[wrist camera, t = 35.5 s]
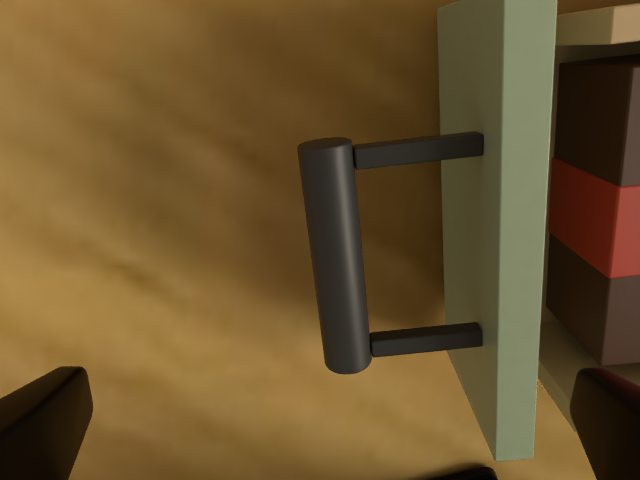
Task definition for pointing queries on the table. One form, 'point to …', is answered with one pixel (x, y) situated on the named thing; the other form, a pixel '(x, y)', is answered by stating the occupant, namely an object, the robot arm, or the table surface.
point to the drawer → (474, 212)
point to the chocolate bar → (597, 208)
